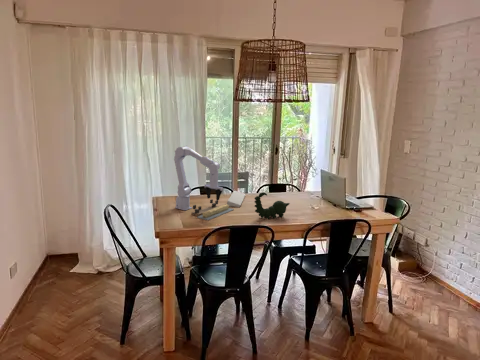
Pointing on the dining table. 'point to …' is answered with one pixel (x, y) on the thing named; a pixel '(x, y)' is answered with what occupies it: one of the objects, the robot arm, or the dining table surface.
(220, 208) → the rail
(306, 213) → the dining table surface
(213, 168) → the robot arm
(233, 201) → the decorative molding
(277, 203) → the toy figurine
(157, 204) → the dining table surface
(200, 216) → the mat
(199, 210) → the rail stand
